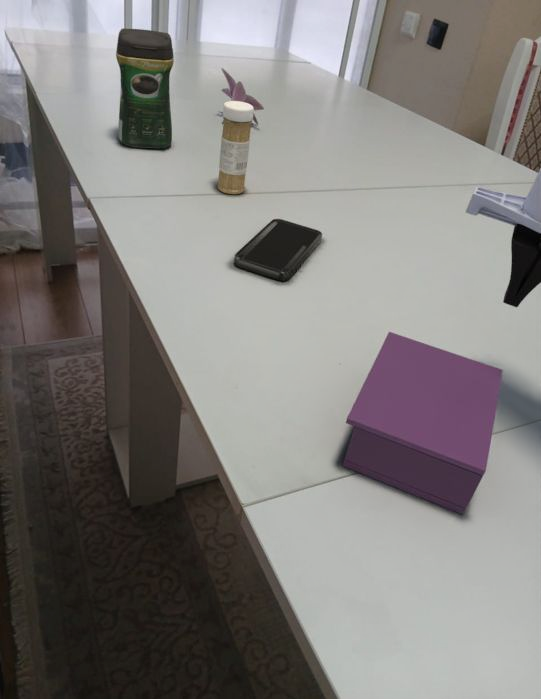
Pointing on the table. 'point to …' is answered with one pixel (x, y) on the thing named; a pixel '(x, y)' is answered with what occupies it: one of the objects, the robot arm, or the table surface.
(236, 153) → the sprinkles bottle
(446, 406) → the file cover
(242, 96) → the lily
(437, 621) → the table surface
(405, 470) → the box
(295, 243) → the phone
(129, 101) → the coffee jar
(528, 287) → the robot arm
